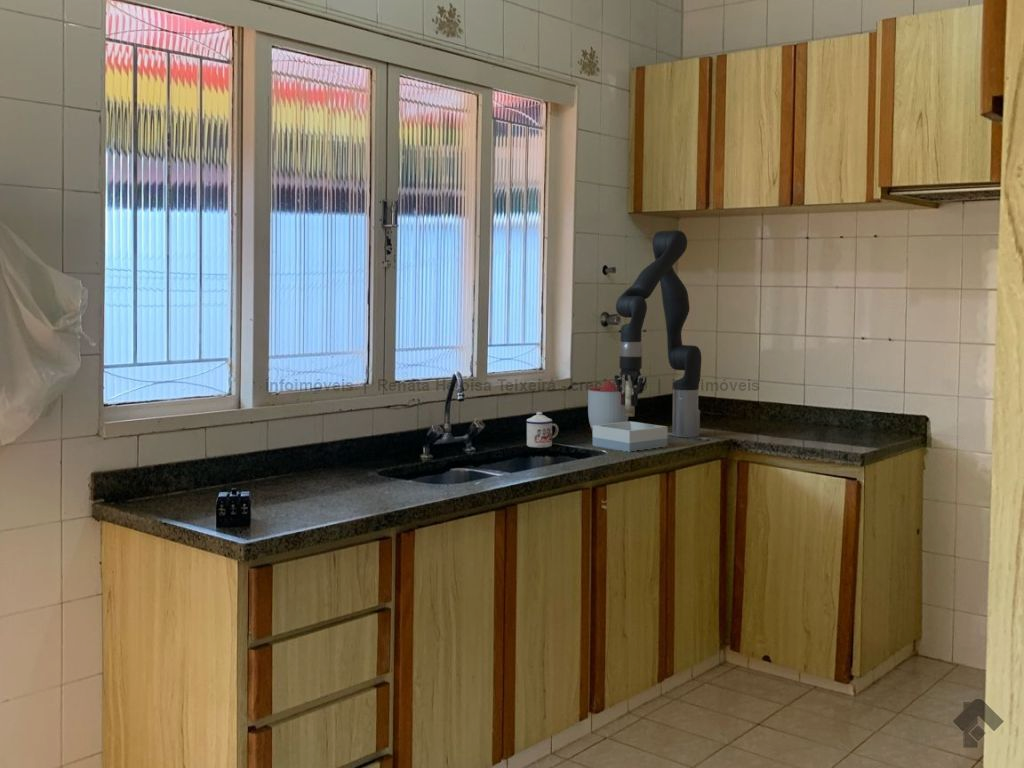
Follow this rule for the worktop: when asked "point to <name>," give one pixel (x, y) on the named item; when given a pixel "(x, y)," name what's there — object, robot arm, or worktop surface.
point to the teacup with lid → (540, 431)
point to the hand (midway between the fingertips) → (629, 405)
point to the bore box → (629, 436)
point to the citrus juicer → (605, 405)
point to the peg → (628, 401)
